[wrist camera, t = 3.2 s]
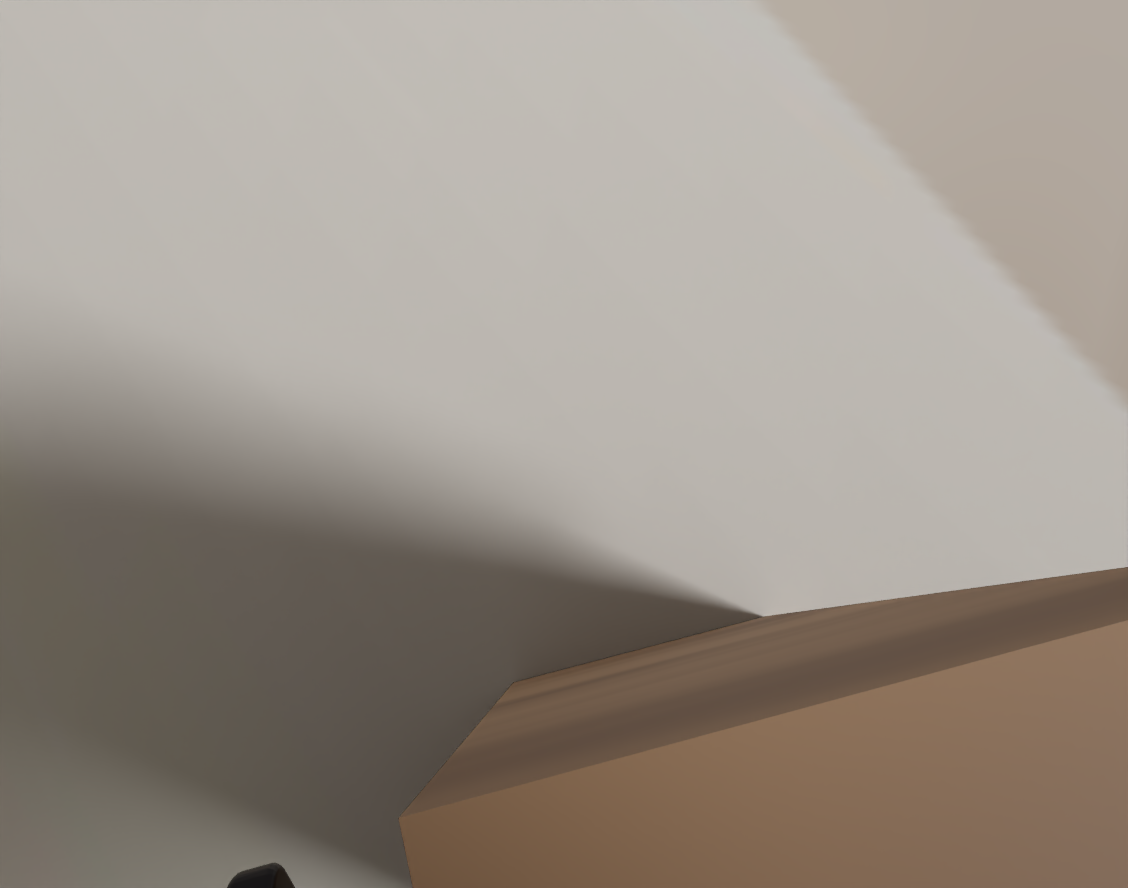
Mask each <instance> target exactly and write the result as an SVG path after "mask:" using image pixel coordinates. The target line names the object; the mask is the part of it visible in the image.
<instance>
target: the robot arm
mask: <svg viewBox="0 0 1128 888" xmlns="http://www.w3.org/2000/svg"><path fill="white" fill-rule="evenodd" d="M227 888H295V887H294V885H293V883H292V881H291V880H290V878H289V876H288V874H287V873H286V871H285V869H284V868H283V867H282V866H281V865H279V864H277V863H271V864H267V865H263V866H260V867H256V868H252V869H249V870H245V871H242V872H240V873H238V874H237V875H236V876H235V877H234V878H233V879H232V880H231V881H230V883H229V885H228V887H227Z"/></svg>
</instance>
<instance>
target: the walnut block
mask: <svg viewBox="0 0 1128 888" xmlns="http://www.w3.org/2000/svg"><path fill="white" fill-rule="evenodd" d="M398 819H399V823H400V828H401V833H402V838H403V843H404V848H405V852H406V857H407V862H408V867H409V872H410V877H411V881H412V886H413V888H1128V567H1125V568H1118V569H1110V570H1103V571H1096V572H1088V573H1081V574H1074V575H1066V576H1059V577H1052V578H1044V579H1037V580H1029V581H1022V582H1015V583H1007V584H1000V585H993V586H985V587H978V588H971V589H963V590H956V591H949V592H941V593H934V594H927V595H919V596H912V597H905V598H897V599H890V600H883V601H875V602H868V603H860V604H853V605H846V606H838V607H831V608H824V609H816V610H809V611H802V612H794V613H787V614H780V615H772V616H765V617H761V618H757V619H753V620H749V621H746V622H742V623H738V624H734V625H730V626H727V627H723V628H719V629H715V630H711V631H708V632H704V633H700V634H696V635H692V636H689V637H685V638H681V639H677V640H673V641H670V642H666V643H662V644H658V645H654V646H651V647H647V648H643V649H639V650H635V651H632V652H628V653H624V654H620V655H616V656H613V657H609V658H605V659H601V660H597V661H594V662H590V663H586V664H582V665H578V666H575V667H571V668H567V669H563V670H559V671H556V672H552V673H548V674H544V675H540V676H537V677H533V678H529V679H525V680H521V681H518V682H514V683H513V684H512V685H511V686H510V687H509V688H508V690H507V691H506V692H505V693H504V694H503V695H502V697H501V698H500V699H499V700H498V701H497V702H496V704H495V705H494V706H493V707H492V708H491V710H490V711H489V712H488V713H487V714H486V715H485V717H484V718H483V719H482V720H481V721H480V723H479V724H478V725H477V726H476V727H475V728H474V730H473V731H472V732H471V733H470V734H469V735H468V737H467V738H466V739H465V740H464V741H463V743H462V744H461V745H460V746H459V747H458V748H457V750H456V751H455V752H454V753H453V754H452V755H451V757H450V758H449V759H448V760H447V761H446V763H445V764H444V765H443V766H442V767H441V768H440V770H439V771H438V772H437V773H436V774H435V776H434V777H433V778H432V779H431V780H430V781H429V783H428V784H427V785H426V786H425V787H424V788H423V790H422V791H421V792H420V793H419V794H418V796H417V797H416V798H415V799H414V800H413V801H412V803H411V804H410V805H409V806H408V807H407V808H406V810H405V811H404V812H403V813H402V814H401V816H400V817H399V818H398Z"/></svg>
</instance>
